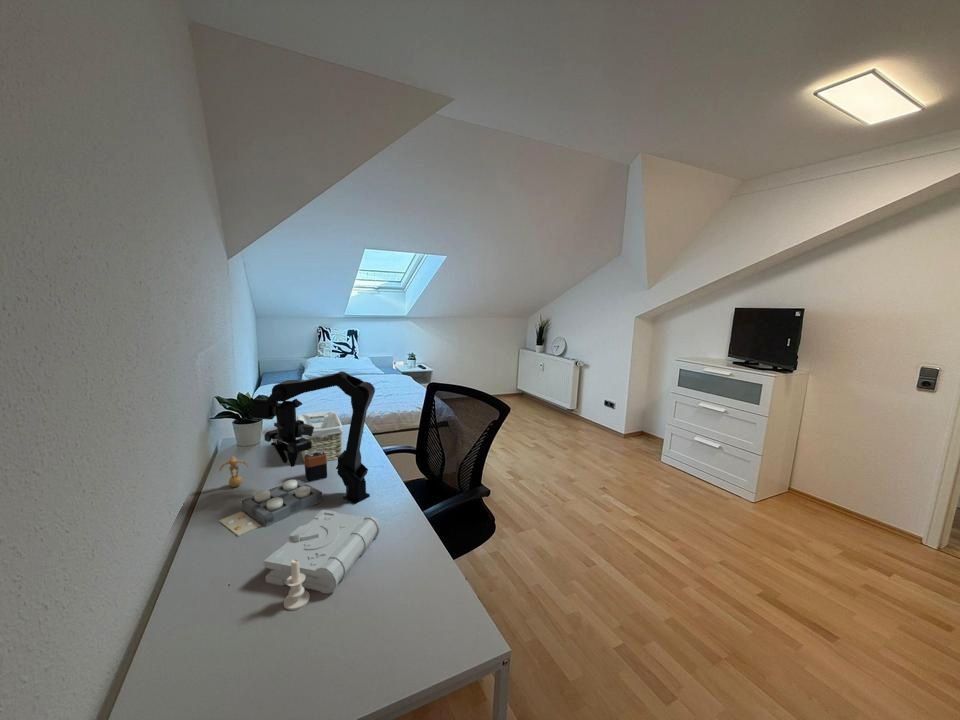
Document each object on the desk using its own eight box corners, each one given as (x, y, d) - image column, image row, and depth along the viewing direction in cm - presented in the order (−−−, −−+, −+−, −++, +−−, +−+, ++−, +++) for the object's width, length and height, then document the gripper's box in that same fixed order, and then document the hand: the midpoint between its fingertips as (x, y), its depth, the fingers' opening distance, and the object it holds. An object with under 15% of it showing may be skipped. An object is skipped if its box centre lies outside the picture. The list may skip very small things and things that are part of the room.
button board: (322, 500, 126) (322, 492, 125) (266, 526, 111) (266, 516, 111) (297, 486, 134) (296, 479, 134) (242, 509, 120) (241, 500, 119)
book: (389, 527, 113) (388, 503, 112) (334, 599, 86) (332, 568, 85) (330, 519, 117) (329, 496, 116) (260, 585, 90) (258, 555, 89)
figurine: (250, 481, 137) (247, 449, 135) (249, 489, 132) (246, 456, 130) (222, 486, 133) (219, 453, 131) (220, 494, 128) (217, 460, 126)
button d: (273, 498, 121) (272, 492, 121) (258, 504, 118) (258, 498, 117) (266, 494, 124) (265, 488, 123) (251, 500, 120) (251, 494, 120)
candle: (303, 588, 88) (300, 547, 87) (314, 600, 85) (312, 558, 83) (279, 601, 84) (276, 559, 83) (290, 614, 81) (287, 570, 79)
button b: (300, 487, 129) (299, 482, 128) (287, 492, 125) (287, 487, 125) (292, 483, 131) (292, 478, 131) (280, 488, 128) (279, 483, 127)
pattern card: (260, 526, 111) (260, 524, 111) (238, 536, 106) (238, 535, 106) (241, 512, 118) (241, 511, 118) (219, 521, 113) (219, 520, 113)
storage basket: (344, 460, 158) (343, 425, 155) (301, 467, 150) (299, 431, 148) (336, 440, 178) (335, 409, 176) (297, 445, 171) (296, 413, 168)
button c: (286, 506, 117) (285, 500, 117) (271, 512, 114) (271, 506, 113) (278, 501, 120) (278, 496, 119) (264, 508, 116) (263, 501, 116)
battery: (327, 477, 142) (326, 452, 140) (308, 482, 138) (306, 456, 136) (324, 473, 145) (323, 448, 144) (305, 477, 141) (303, 452, 139)
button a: (313, 494, 125) (312, 488, 124) (300, 500, 121) (299, 494, 121) (305, 490, 127) (305, 484, 127) (292, 495, 123) (292, 490, 123)
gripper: (325, 419, 126) (327, 463, 128) (294, 408, 136) (296, 450, 139) (293, 428, 117) (295, 476, 119) (262, 416, 127) (265, 460, 129)
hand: (289, 464), depth 127 cm, fingers open, 4 cm apart
